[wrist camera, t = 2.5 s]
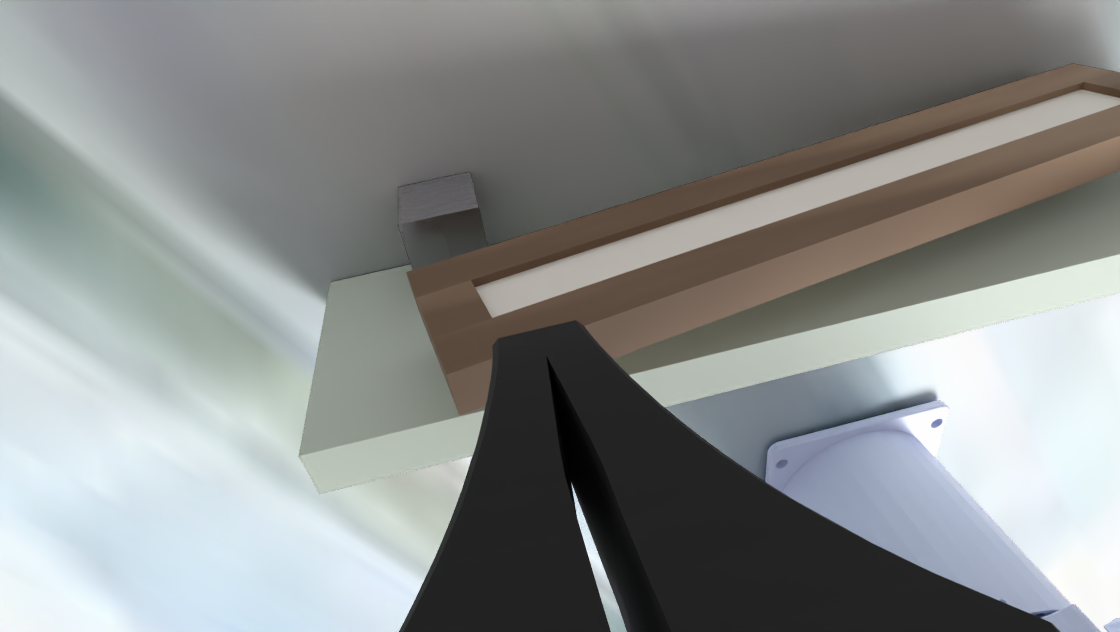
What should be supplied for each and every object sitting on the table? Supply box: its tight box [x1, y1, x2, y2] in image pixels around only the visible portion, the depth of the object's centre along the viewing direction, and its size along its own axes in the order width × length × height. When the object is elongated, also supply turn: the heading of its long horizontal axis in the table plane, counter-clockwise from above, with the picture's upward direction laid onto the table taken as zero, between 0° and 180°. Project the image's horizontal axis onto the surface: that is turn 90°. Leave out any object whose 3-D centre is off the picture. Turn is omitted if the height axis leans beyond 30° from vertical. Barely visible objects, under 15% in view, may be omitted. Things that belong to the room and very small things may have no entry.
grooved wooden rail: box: [406, 63, 1120, 416], centre depth 15 cm, size 1×20×4 cm, turn 98°
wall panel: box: [299, 171, 1120, 494], centre depth 17 cm, size 4×26×7 cm, turn 99°
